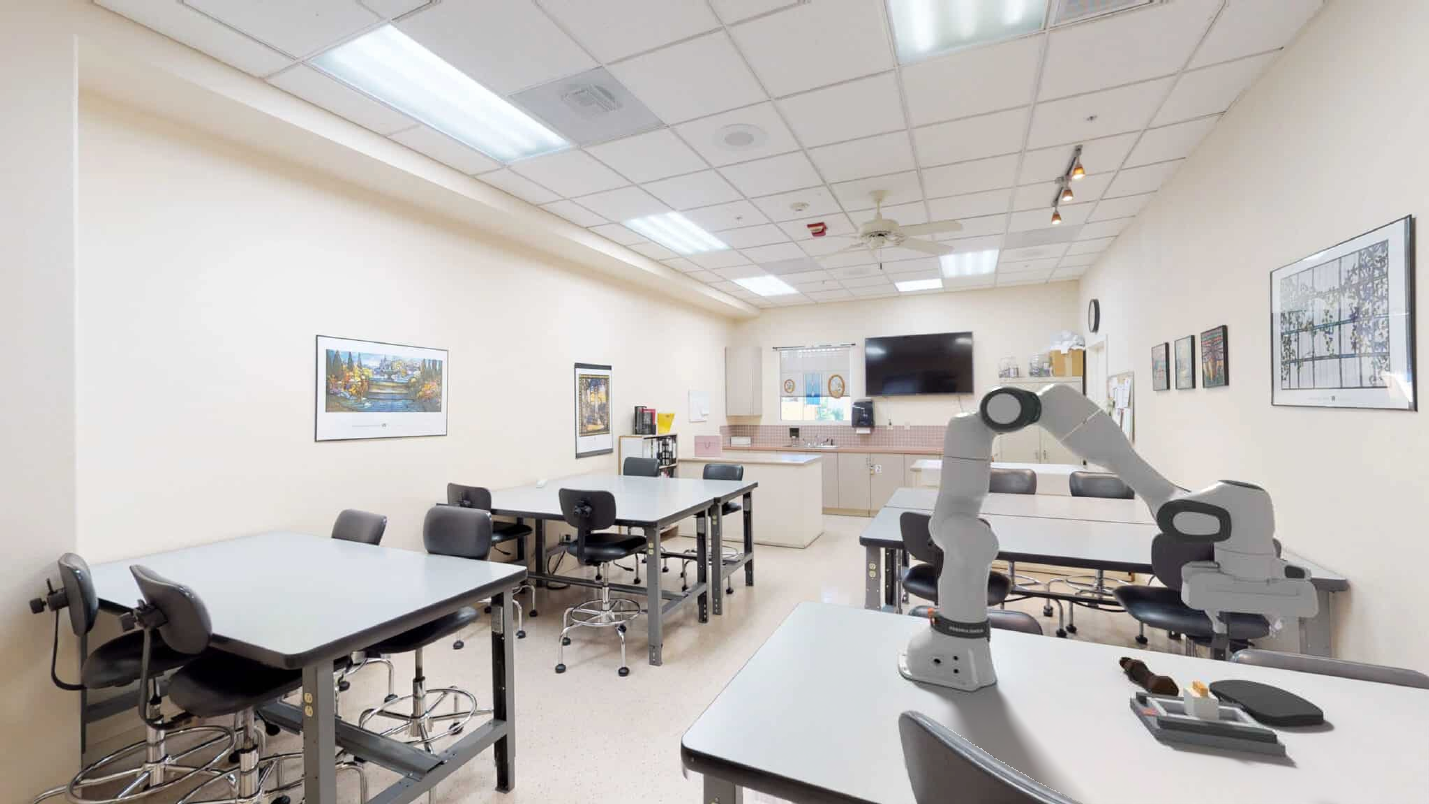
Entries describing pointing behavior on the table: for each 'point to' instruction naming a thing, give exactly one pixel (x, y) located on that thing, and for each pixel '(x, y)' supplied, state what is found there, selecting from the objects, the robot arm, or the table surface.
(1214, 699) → the toggle
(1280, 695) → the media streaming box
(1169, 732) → the panel
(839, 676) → the table surface
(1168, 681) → the dark brown lumpy rod
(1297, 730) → the table surface
